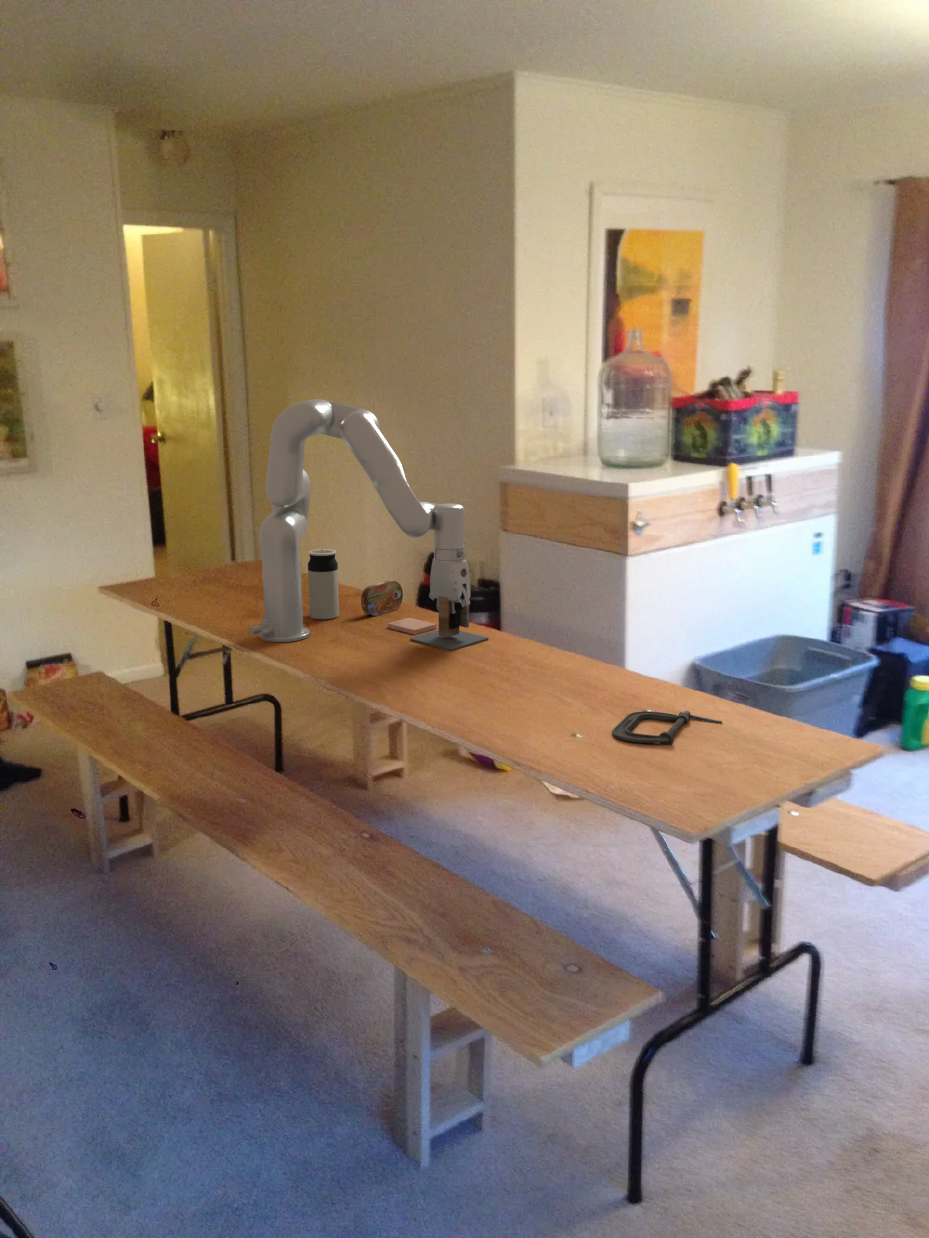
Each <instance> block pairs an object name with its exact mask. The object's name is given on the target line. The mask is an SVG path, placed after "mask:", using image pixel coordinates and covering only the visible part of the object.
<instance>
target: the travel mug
mask: <svg viewBox="0 0 929 1238" xmlns="http://www.w3.org/2000/svg"><path fill="white" fill-rule="evenodd" d="M336 554H337V551H336V550H335V549H330V548H317V549H313V550H312V549H311V550H308V556H309V560H308V562H307V579H308V580H307V583H308V585H307V586H308V609H309V612H308V613H309V617H310V618H311V619H314V620H319V619H322V621H325V620H326V619H327V620H332V619H336V618H337V617H339V616H340V607H339V603H340V602H339V601H340V600H339V596H340V595H339V569H338V567H339V565H338V564H339V563H338V561H337V560H336Z"/></svg>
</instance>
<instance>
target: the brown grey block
mask: <svg viewBox="0 0 929 1238" xmlns="http://www.w3.org/2000/svg"><path fill="white" fill-rule="evenodd" d="M456 605H457V603H456ZM450 613H451V601H449V600H448V598H446V597H442V596H439V610H438V631H439V635H441V636H445V637H450V636H453V635H457V634H459V631H460V627H462V628H466V629H468V628H470V605H468V606H466V607H464V608H463V609H462V611H461V612H460V626H459V627H458V628H454V629H450Z"/></svg>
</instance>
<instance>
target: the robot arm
mask: <svg viewBox="0 0 929 1238" xmlns="http://www.w3.org/2000/svg"><path fill="white" fill-rule="evenodd" d="M318 435H324V436H327V437H328V436H329V437H332V438H336V439H341V440H343V441H344V443H345V444H346V446H347V447H348V449H349V450H350V451H351V454H353V456H354V457H355V458H356V461H357V462H358V463H359V465H360V466H361V467H362V469H363V471H365V473H366V475H367V476H368V478H369V479H370V481H371V483H372V485H373V487H374V490H375V491H376V492H377V494H378V496H379V498H380V500H381V501H382V503H383V505H384V506H385V508H386V510H387V511H388V513H389V515H390V516H391V518H392V519H393V520H394V521H395V522H396V525H398V527H399V528H400V530H401V531H402V532H403V533H404V534H405V535H407V536H409V537H410V538H413V539H414V538H417V539H418V538H422V537H423V536H425V535H427V534H428V532H429V531H433V542H434V543H433V547H434V548H433V553H434V554H433V558H432V562H431V569H430V576H429V577H430V578H429V581H430V582H429V591H430V592H429V594H428V598H429V599H431V600H432V601H433V602H434V604H435V606H436V610H437V611H439V596H442V597H446V598H448V600H449V601H451V613H450V629H454V628H458V627H459V628H460V627H461V626H460V612H461V611H462V609H463V608H464V607H466V606H468V605H469V606H470V605H471V601H470V598H471V576H470V575H471V574H470V568H469V564H468V560H466V558H467V556H468V555H467V552H465V551H466V547H465V544H466V542H465V538H466V535H465V534H466V531H465V530H466V525H465V524H466V512H465V507H464V506H463V505H461V504H459V503H458V504H457V503H440V504H439V503H433V502H427V501H419V500H418V498H417V497H416V495H415V494H414V492H413V490H412V489H411V487H410V485H409V483H408V481H407V478H406V475H405V472H404V467H403V465H402V461H401V460H400V458H399V457H398V455H397V454H396V453H395V451H394V450H393V448H392V447H391V445H390V443H389V442H388V440H386V438H385V436H384V435H383V433H382V432H381V430H380V422H379V420H378V417H377V416H376V415H375V414H374V413H372V411H370V410H367V409H363V408H359V407H355V406H351V405H348V404H347V405H346V404H343V403H339V402H334V401H331V400H327V399H322V398H313V399H308V400H304V401H300V402H298V403H295V404H292V405H291V406H289V407H287V408H285V409H284V410H283V411H281V412H280V413H279V415H278V416H277V417H276V419H274V422H273V424H272V427H271V430H270V440H269V448H268V449H269V451H268V459H267V471H266V483H265V495H266V496H267V499H268V501H269V502H270V503H271V504H272V506H271V513H270V514H269V515H267V516H266V517H265V518H264V519H263V520H262V522H261V524H260V527H259V531H258V542H259V543H258V544H259V549H260V555H261V564H262V565H261V566H262V567H261V568H262V569H261V570H262V585H263V607H264V608H263V611H264V619H261V620H260V621H261V622H260V624H259V625H256V626H250V627H249V630H248V632H249V634H250V635H251V636H253V635H258V634H259V636H258V637H259V638H260V639H261V640H263V641H266V642H267V641H268V642H273V643H274V642H275V643H290V642H297V641H301V640H305V639H307V638H309V636H310V633H311V632H310V630H309V629H308V628H307V627H305V626H304V613H303V611H304V610H303V607H304V605H303V584H302V583H303V582H302V581H303V580H302V579H303V578H302V565H301V564H302V563H301V554H300V553H301V552H300V547H299V546H300V545H299V542H300V541H301V540H302V539H304V536H305V535H306V533H307V530H308V524H309V514H310V503H311V502H310V501H311V490H312V489H311V487H312V486H311V479H310V476H309V475H308V473H307V472H306V470H305V469H304V461H305V443H306V441H307V439H308V438H310V437H315V436H318ZM395 522H394V523H395ZM456 603H457V605H456Z"/></svg>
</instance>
